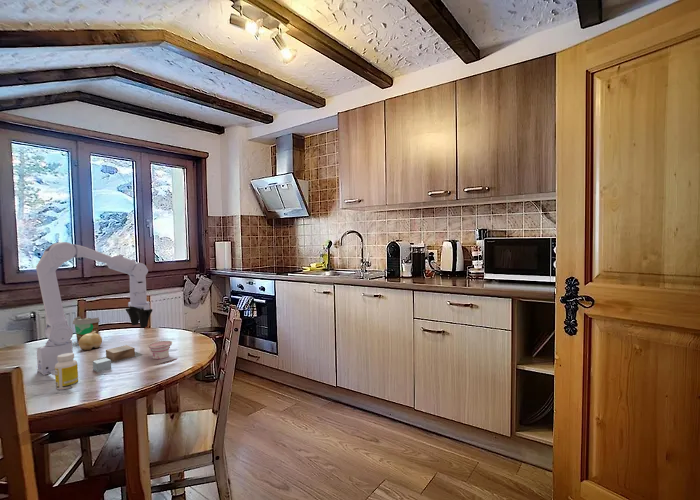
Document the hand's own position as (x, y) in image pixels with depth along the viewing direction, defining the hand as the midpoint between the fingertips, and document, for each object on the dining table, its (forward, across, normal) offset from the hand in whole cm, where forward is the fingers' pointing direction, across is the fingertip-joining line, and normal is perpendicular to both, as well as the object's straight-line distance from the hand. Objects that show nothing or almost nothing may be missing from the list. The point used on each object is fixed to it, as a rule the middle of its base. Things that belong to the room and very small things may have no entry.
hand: (139, 326), depth 145 cm
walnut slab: (+9, -6, +10) cm, 14 cm away
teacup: (+10, -19, +2) cm, 22 cm away
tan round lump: (+10, +21, +10) cm, 25 cm away
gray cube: (+10, -15, +19) cm, 26 cm away
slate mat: (+10, -6, +10) cm, 15 cm away
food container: (+10, +39, +7) cm, 41 cm away
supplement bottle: (+10, -20, +30) cm, 37 cm away
